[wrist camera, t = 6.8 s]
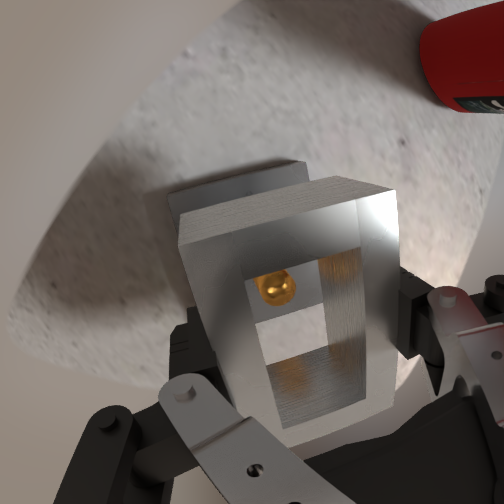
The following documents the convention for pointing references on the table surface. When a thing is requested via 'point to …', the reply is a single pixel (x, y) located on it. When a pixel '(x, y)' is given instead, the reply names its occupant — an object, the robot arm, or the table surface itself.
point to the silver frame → (333, 292)
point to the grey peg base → (270, 285)
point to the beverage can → (467, 59)
